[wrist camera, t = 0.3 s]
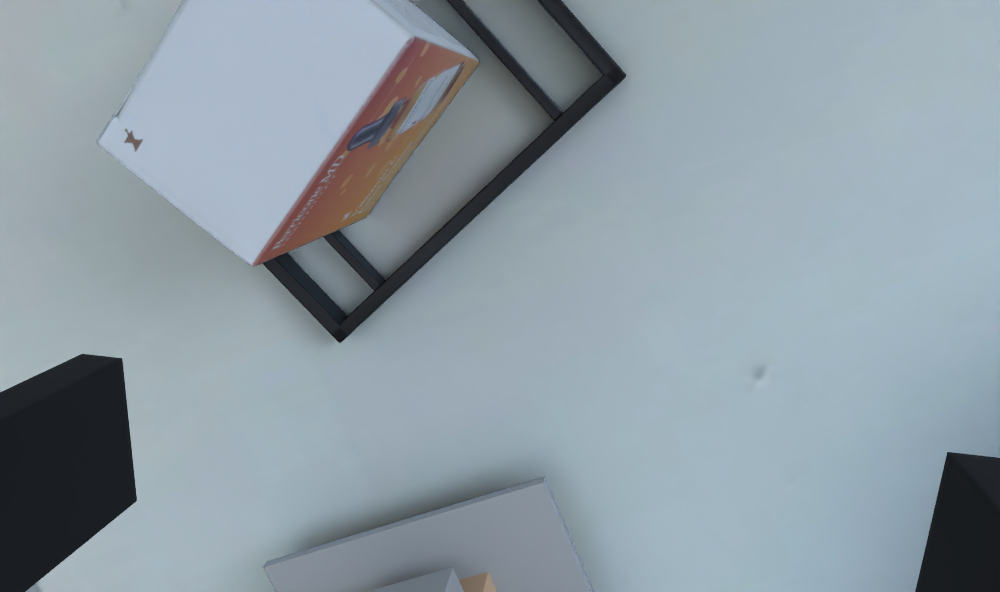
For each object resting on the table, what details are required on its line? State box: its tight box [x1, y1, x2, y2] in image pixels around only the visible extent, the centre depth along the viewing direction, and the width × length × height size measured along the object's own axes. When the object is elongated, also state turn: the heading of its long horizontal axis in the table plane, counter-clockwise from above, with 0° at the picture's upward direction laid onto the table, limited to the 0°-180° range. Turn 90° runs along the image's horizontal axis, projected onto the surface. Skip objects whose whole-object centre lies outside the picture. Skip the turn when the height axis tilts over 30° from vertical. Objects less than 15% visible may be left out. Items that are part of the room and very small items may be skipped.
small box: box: [97, 0, 479, 266], centre depth 24 cm, size 8×6×10 cm
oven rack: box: [263, 0, 626, 343], centre depth 29 cm, size 16×13×1 cm
